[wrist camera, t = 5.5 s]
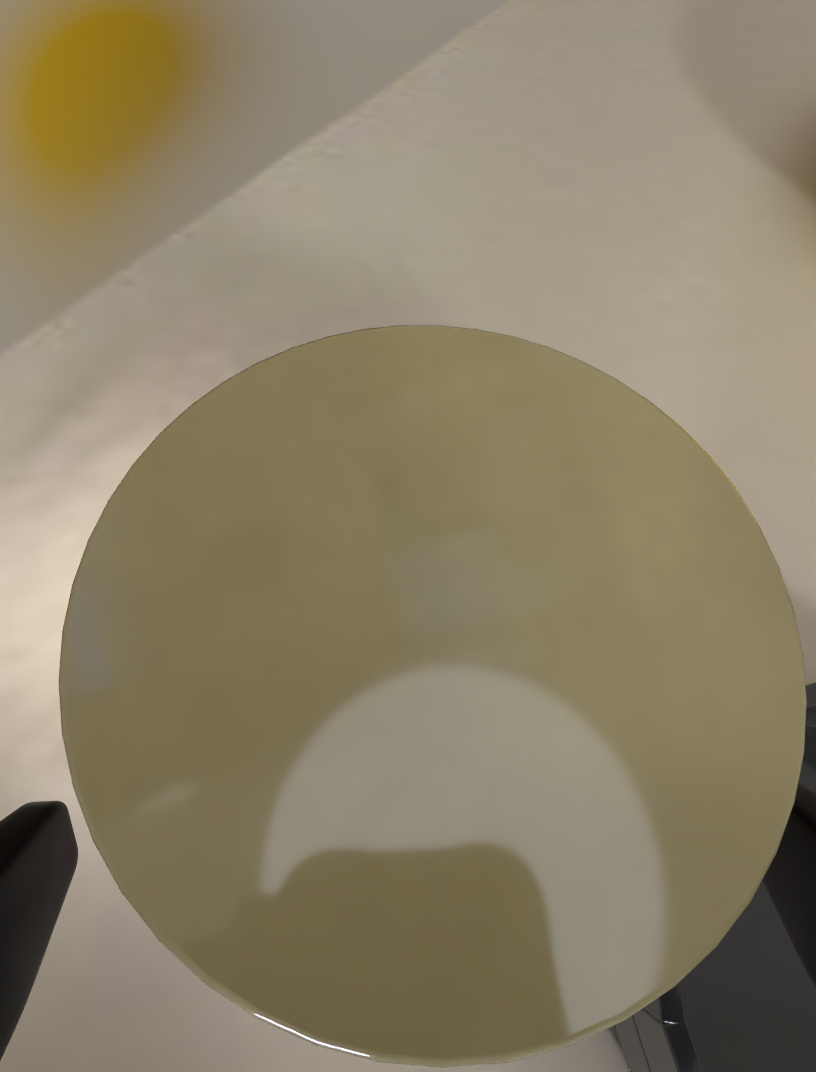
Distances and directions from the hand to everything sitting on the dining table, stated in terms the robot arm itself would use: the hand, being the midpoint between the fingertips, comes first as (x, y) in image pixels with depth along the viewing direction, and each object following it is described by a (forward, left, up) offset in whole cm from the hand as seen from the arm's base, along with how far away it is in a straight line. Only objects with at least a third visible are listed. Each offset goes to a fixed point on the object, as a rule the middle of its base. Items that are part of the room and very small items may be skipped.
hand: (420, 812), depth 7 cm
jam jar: (0, +2, -9) cm, 9 cm away
